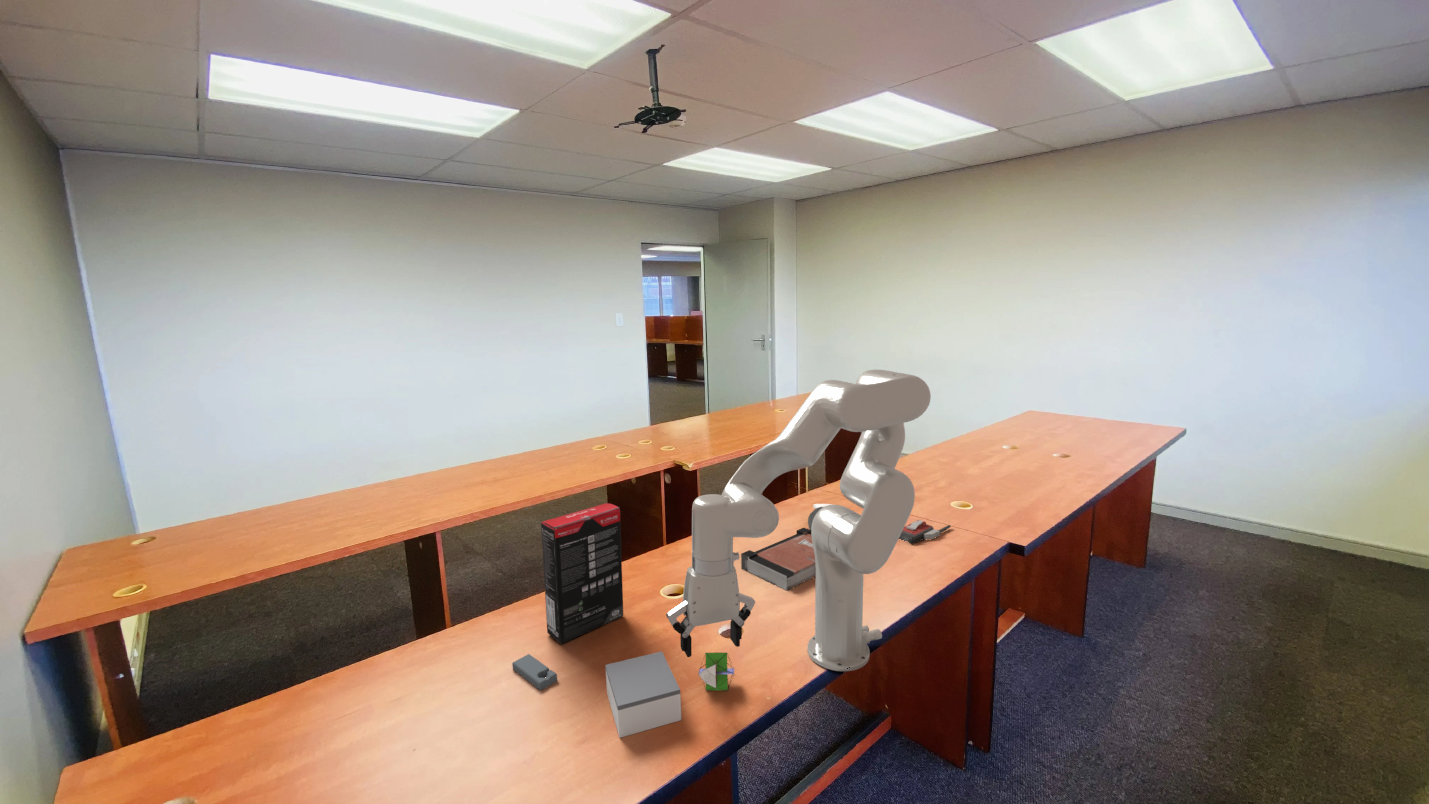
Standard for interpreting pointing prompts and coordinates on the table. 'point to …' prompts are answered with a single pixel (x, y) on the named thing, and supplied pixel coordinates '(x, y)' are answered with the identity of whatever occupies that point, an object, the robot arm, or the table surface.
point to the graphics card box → (582, 571)
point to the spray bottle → (812, 515)
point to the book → (783, 561)
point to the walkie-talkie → (920, 532)
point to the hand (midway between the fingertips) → (711, 647)
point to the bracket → (534, 672)
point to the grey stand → (642, 693)
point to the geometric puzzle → (716, 671)
